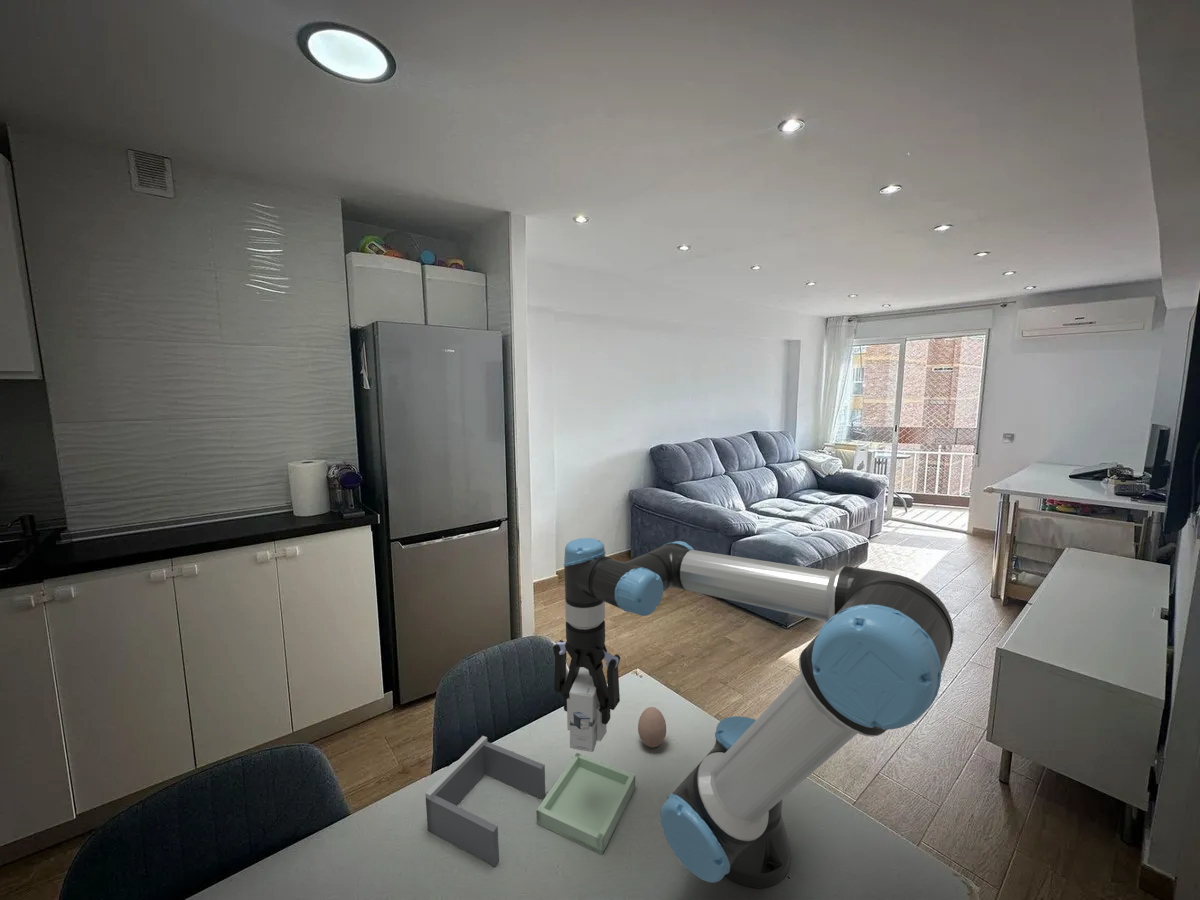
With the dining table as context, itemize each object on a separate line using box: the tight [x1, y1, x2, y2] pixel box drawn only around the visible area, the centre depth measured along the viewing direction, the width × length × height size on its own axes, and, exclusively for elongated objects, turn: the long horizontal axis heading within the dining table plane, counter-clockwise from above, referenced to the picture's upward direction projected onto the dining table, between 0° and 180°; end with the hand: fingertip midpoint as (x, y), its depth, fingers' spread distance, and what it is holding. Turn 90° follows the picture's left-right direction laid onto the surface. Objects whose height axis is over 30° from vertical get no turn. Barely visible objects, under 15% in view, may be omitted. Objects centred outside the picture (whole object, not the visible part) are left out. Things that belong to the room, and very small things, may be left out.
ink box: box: [569, 667, 600, 753], centre depth 93 cm, size 9×5×12 cm, turn 168°
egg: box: [637, 706, 667, 748], centre depth 111 cm, size 7×7×9 cm
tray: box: [535, 752, 636, 855], centre depth 96 cm, size 14×16×3 cm
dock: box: [425, 735, 546, 868], centre depth 94 cm, size 16×16×8 cm
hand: (586, 730), depth 94 cm, fingers closed on ink box, 6 cm apart
